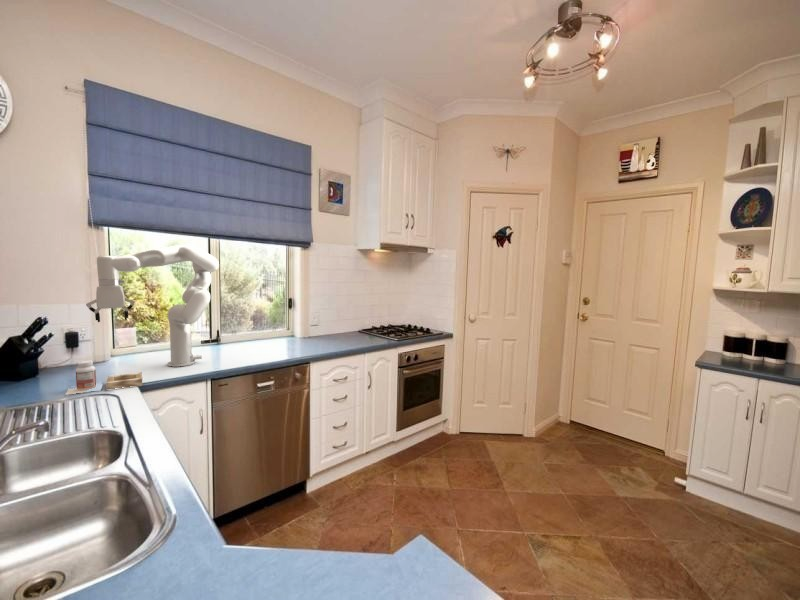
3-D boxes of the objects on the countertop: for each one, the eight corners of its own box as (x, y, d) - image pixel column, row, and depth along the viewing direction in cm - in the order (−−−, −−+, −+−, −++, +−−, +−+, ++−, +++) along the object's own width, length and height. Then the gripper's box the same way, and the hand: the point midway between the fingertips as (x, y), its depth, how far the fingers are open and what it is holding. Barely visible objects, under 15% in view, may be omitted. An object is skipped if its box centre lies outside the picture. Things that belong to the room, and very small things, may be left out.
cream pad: (103, 383, 156) (103, 382, 156) (101, 390, 147) (101, 389, 147) (69, 388, 150) (69, 387, 150) (65, 395, 141) (65, 394, 141)
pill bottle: (84, 386, 152) (83, 360, 151) (100, 385, 152) (99, 359, 152) (72, 390, 146) (71, 363, 145) (88, 390, 146) (87, 363, 145)
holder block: (142, 378, 165) (141, 372, 164) (142, 385, 155) (141, 378, 155) (108, 382, 158) (108, 376, 157) (106, 390, 148) (105, 383, 148)
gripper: (133, 282, 171) (135, 317, 173) (84, 283, 161) (88, 321, 162) (133, 282, 165) (136, 319, 167) (83, 284, 155) (87, 323, 156)
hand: (112, 320), depth 165 cm, fingers open, 9 cm apart
